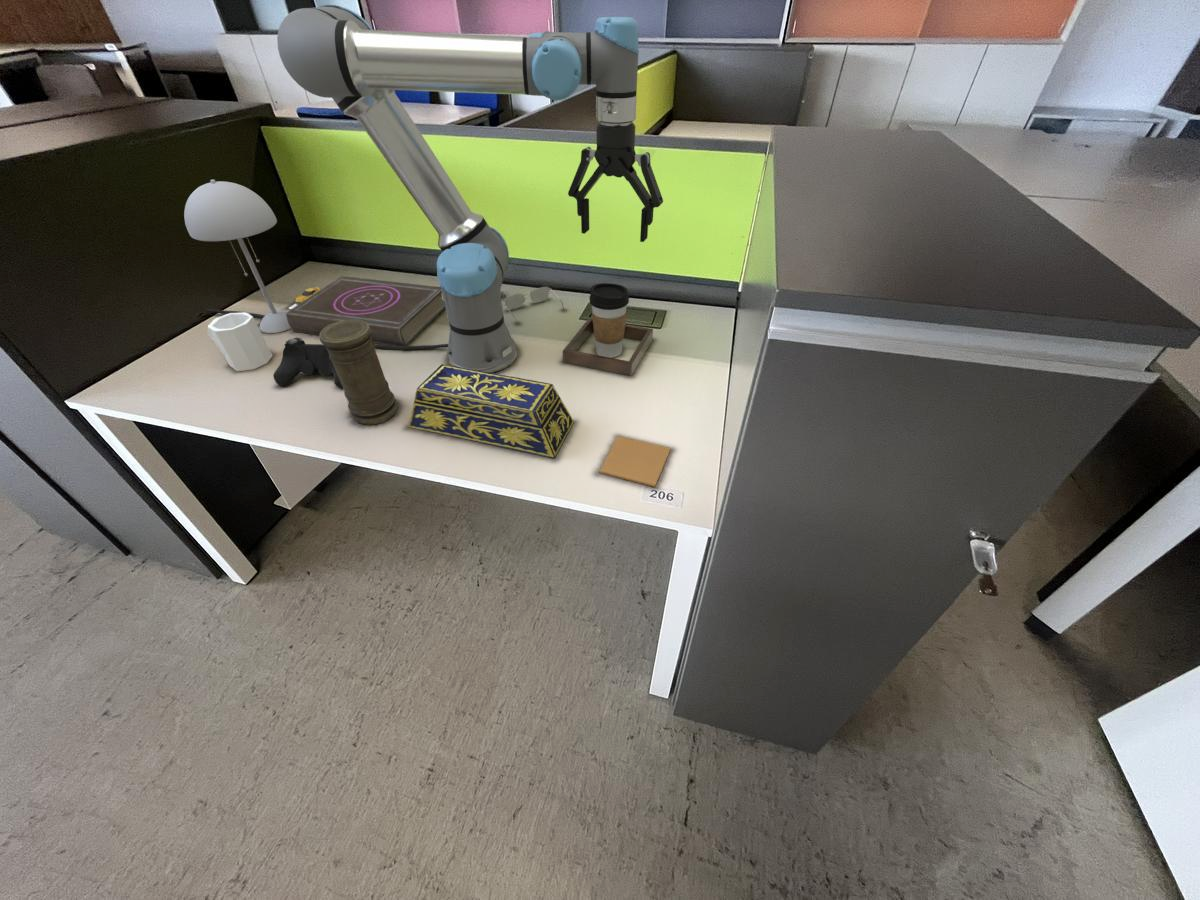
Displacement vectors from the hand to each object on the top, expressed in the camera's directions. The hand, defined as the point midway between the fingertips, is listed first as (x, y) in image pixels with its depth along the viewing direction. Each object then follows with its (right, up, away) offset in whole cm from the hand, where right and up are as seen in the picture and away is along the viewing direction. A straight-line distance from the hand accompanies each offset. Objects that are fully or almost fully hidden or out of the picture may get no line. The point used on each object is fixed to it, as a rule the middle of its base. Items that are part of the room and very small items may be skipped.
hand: (614, 235), depth 113 cm
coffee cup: (-1, -24, +6) cm, 25 cm away
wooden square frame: (-1, -24, +6) cm, 25 cm away
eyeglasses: (-20, -11, +21) cm, 31 cm away
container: (-48, -39, -10) cm, 63 cm away
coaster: (+3, -49, -22) cm, 53 cm away
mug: (-84, -26, +5) cm, 88 cm away
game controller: (-63, -31, -1) cm, 71 cm away
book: (-61, -14, +18) cm, 65 cm away
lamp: (-83, -15, +17) cm, 86 cm away
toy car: (-81, -7, +26) cm, 85 cm away
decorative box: (-24, -42, -14) cm, 50 cm away
